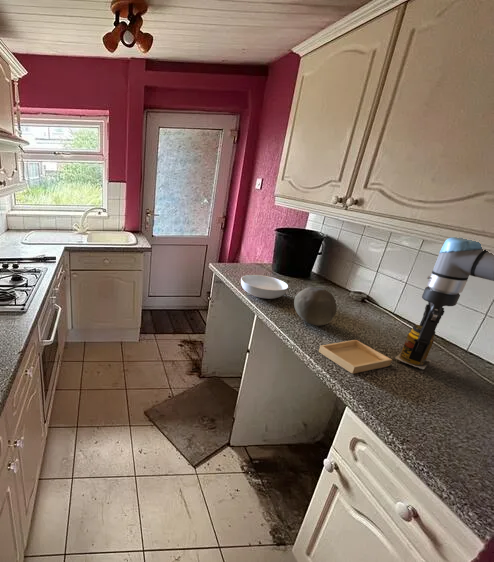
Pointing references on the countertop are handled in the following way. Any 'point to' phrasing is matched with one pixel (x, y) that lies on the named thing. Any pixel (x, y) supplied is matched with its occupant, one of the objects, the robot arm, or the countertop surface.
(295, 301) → the grey round rock
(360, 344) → the tray
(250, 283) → the serving bowl
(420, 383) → the countertop surface
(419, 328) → the condiment
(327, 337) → the countertop surface
